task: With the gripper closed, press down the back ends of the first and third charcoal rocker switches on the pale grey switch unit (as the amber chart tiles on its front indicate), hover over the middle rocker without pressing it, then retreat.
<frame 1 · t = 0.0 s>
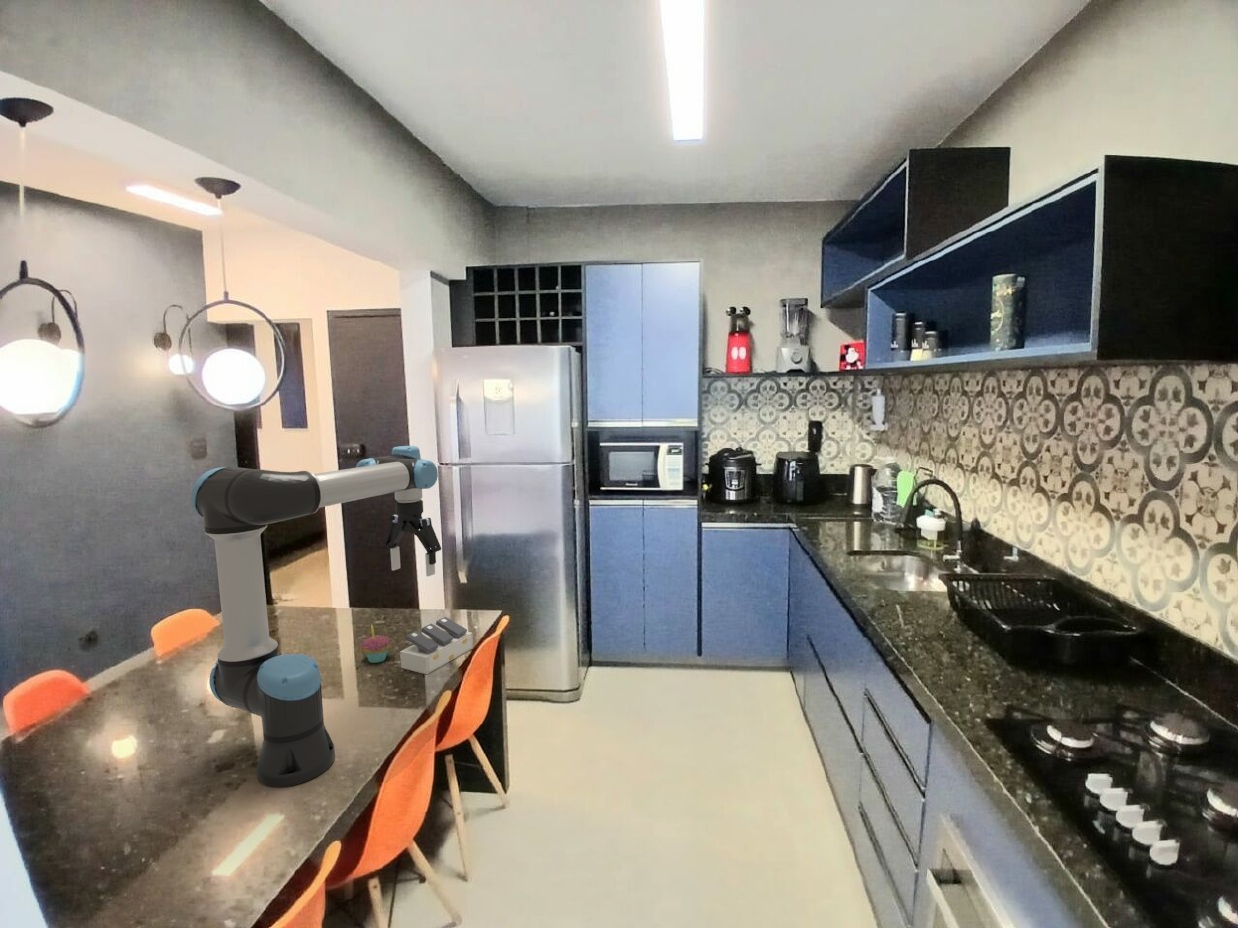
hand: (413, 572, 183), 28 cm above the table, fingers open, 13 cm apart
rocker 1: (422, 641, 184), point 7 cm above the table, hinge at 18.0°
switch unit: (438, 657, 191), on the table
rocker 2: (437, 633, 190), point 7 cm above the table, hinge at 18.0°
cupcake: (376, 660, 190), on the table
rocker 3: (451, 626, 195), point 7 cm above the table, hinge at 18.0°
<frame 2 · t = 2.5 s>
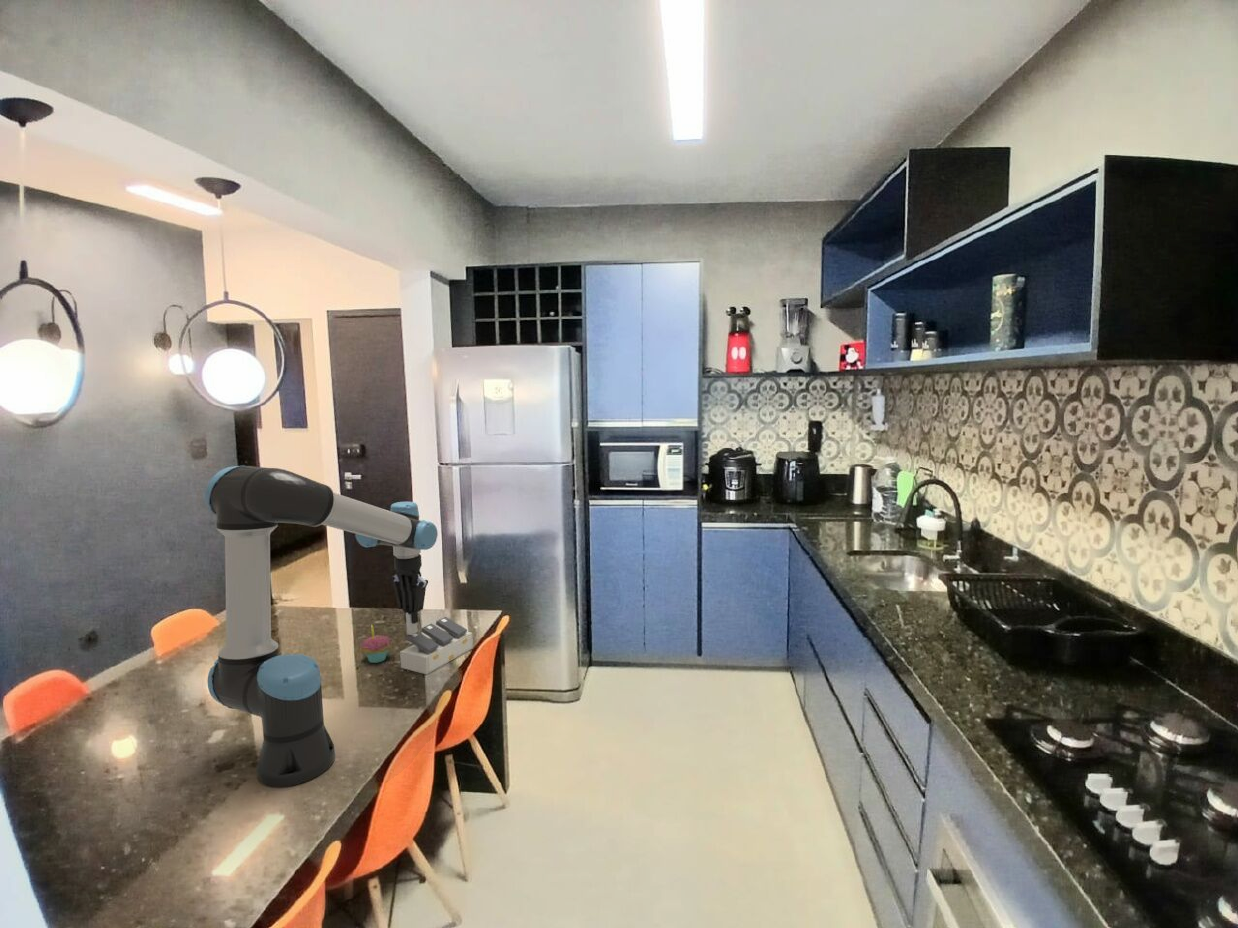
hand: (412, 632, 186), 9 cm above the table, fingers closed
rocker 1: (422, 641, 184), point 7 cm above the table, hinge at 18.0°, touching gripper
everything else where it was.
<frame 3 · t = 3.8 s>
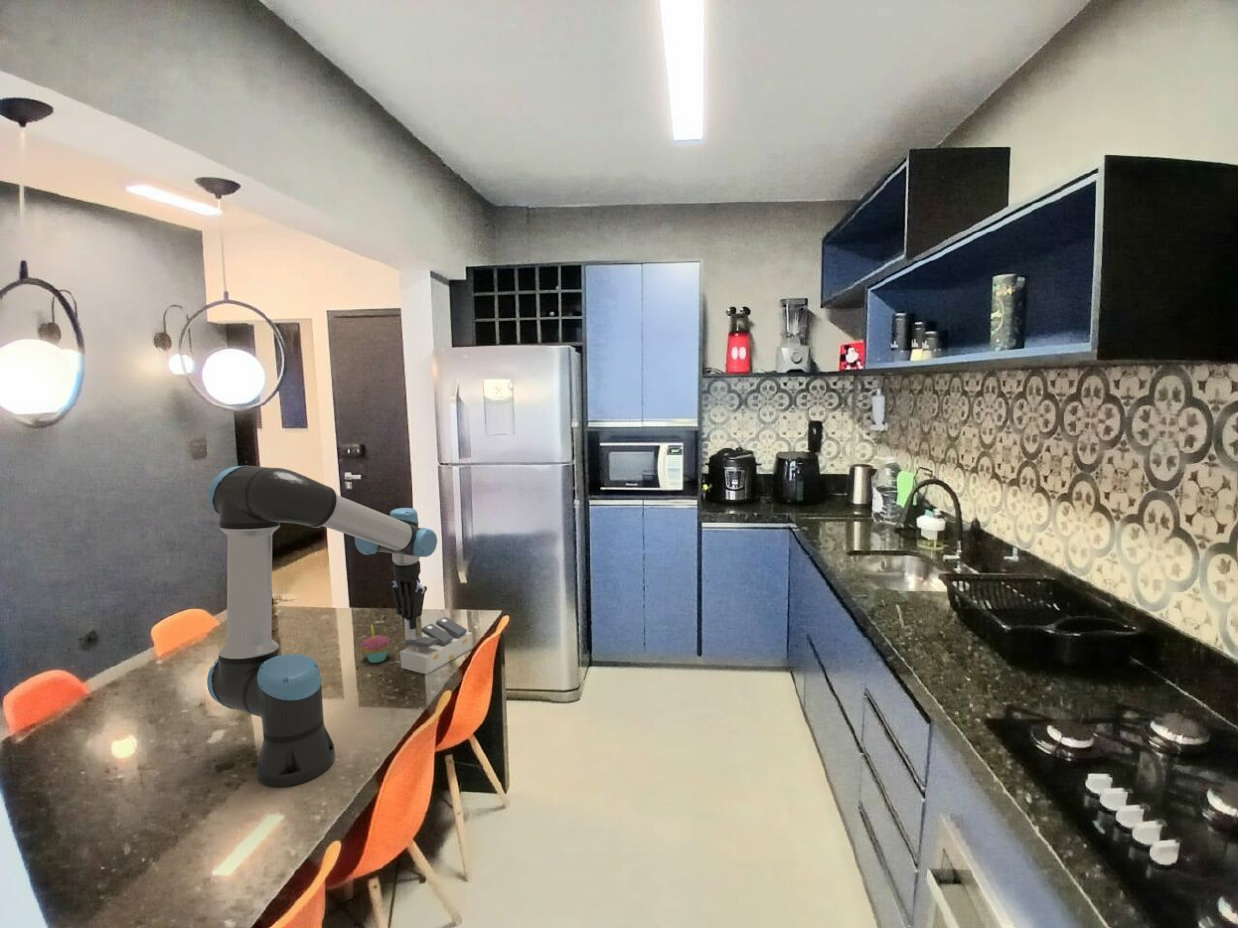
hand: (410, 638, 186), 7 cm above the table, fingers closed
rocker 1: (422, 641, 184), point 7 cm above the table, hinge at -5.7°, touching gripper
everything else where it was.
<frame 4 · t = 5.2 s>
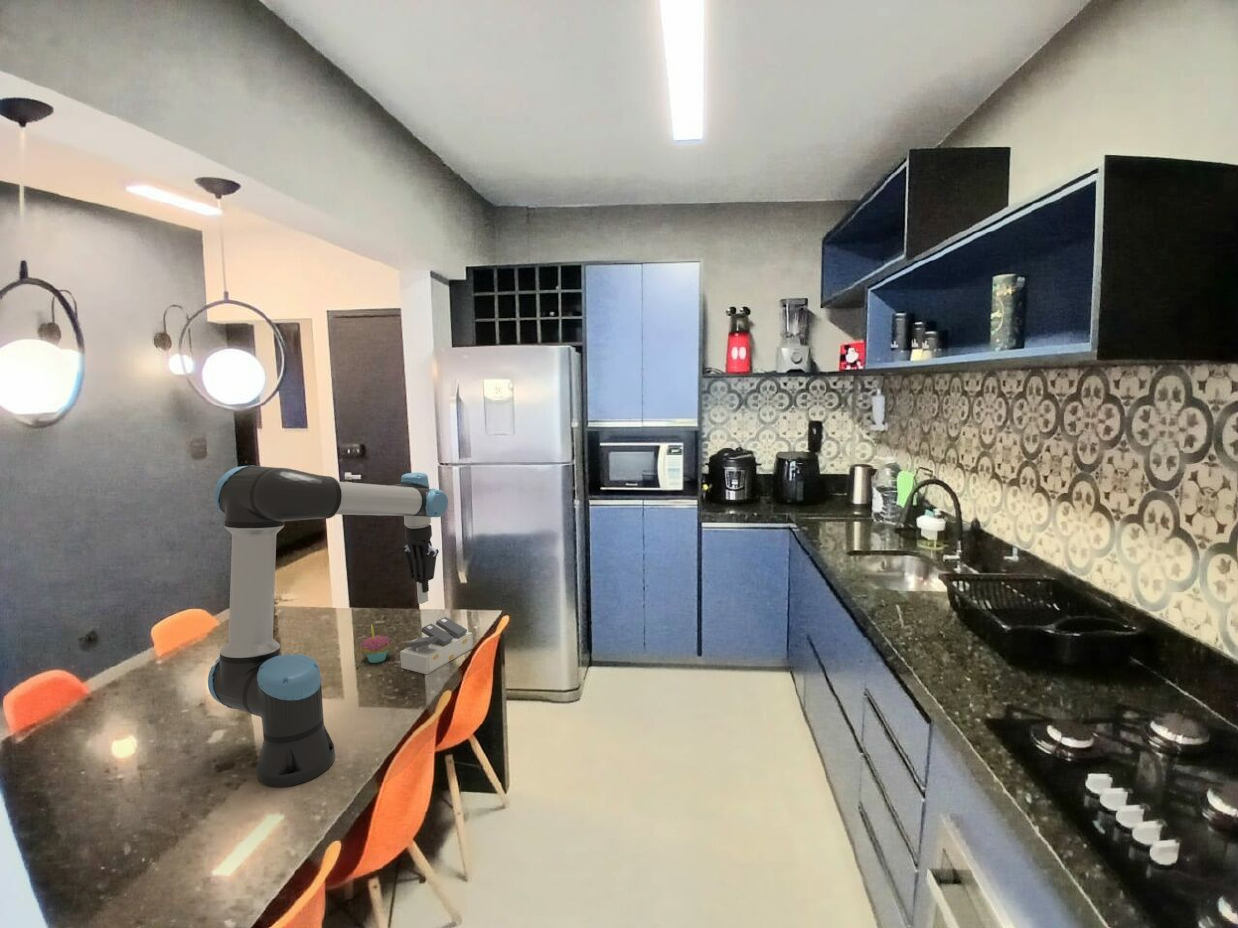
hand: (423, 601, 189), 17 cm above the table, fingers closed
rocker 1: (422, 641, 184), point 7 cm above the table, hinge at -15.1°
everything else where it was.
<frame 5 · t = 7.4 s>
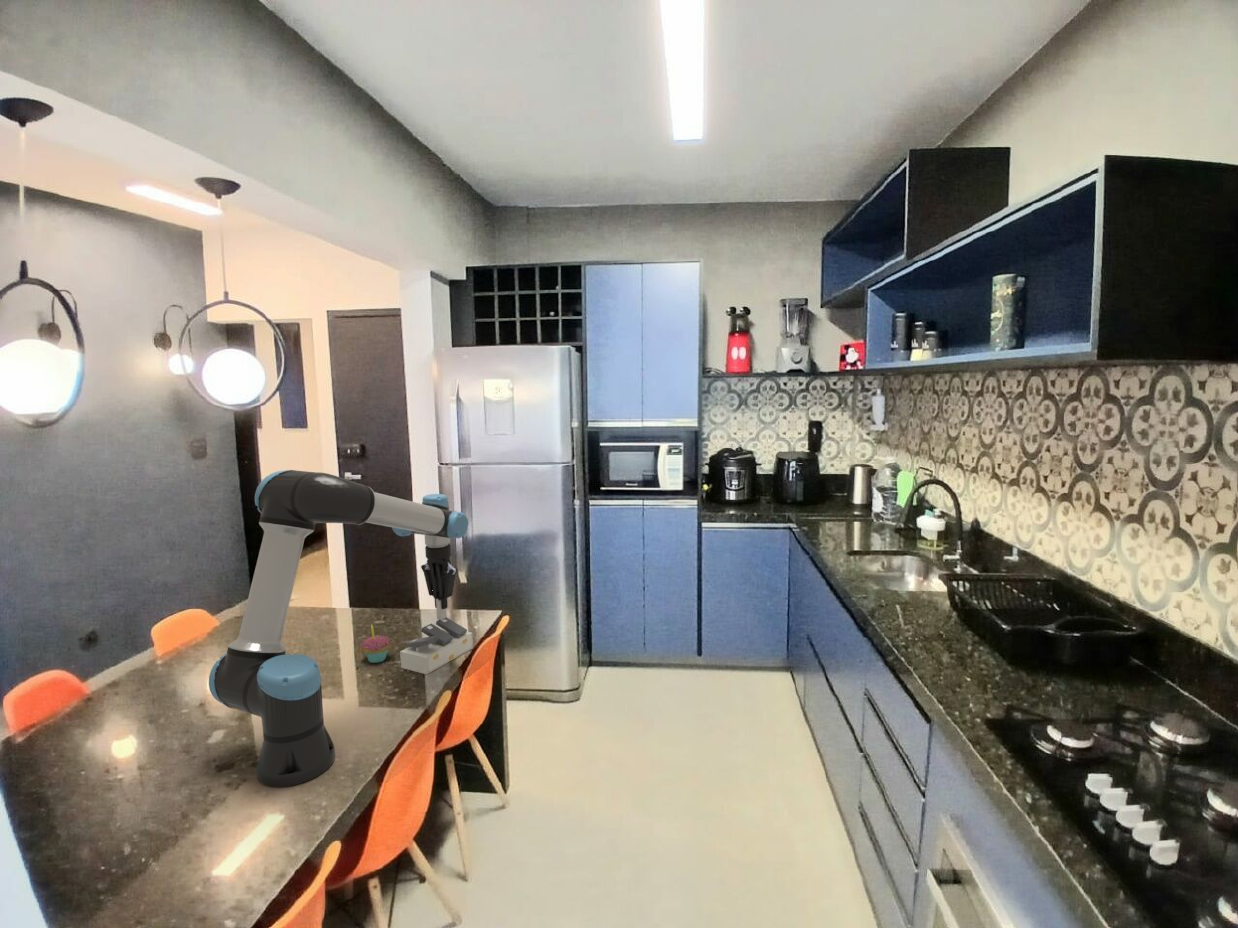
hand: (441, 618, 197), 10 cm above the table, fingers closed
rocker 1: (422, 641, 184), point 7 cm above the table, hinge at -16.2°
rocker 3: (451, 626, 195), point 7 cm above the table, hinge at 18.0°, touching gripper
everything else where it was.
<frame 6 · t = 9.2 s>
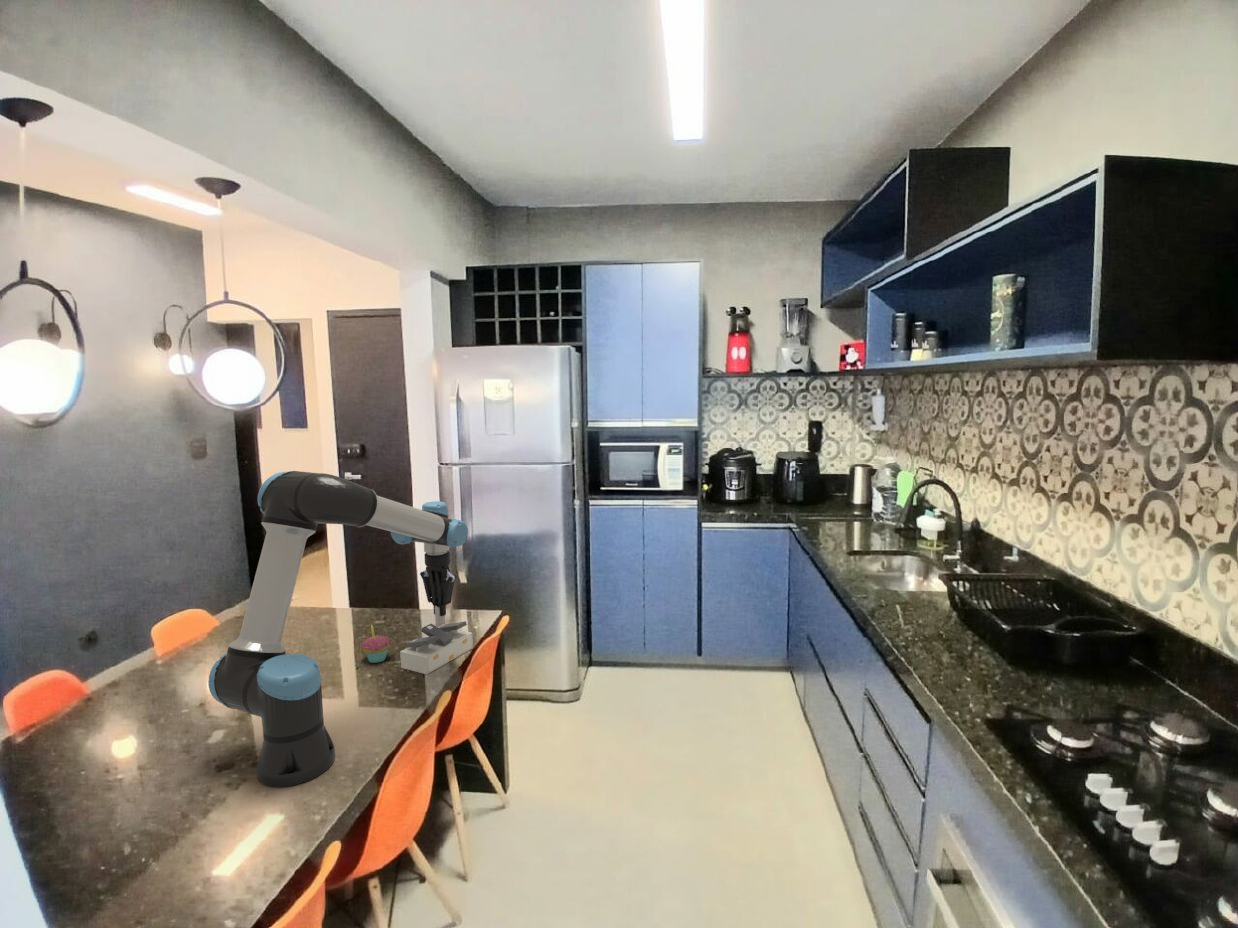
hand: (440, 624, 197), 7 cm above the table, fingers closed
rocker 3: (451, 626, 195), point 7 cm above the table, hinge at -16.7°
everything else where it was.
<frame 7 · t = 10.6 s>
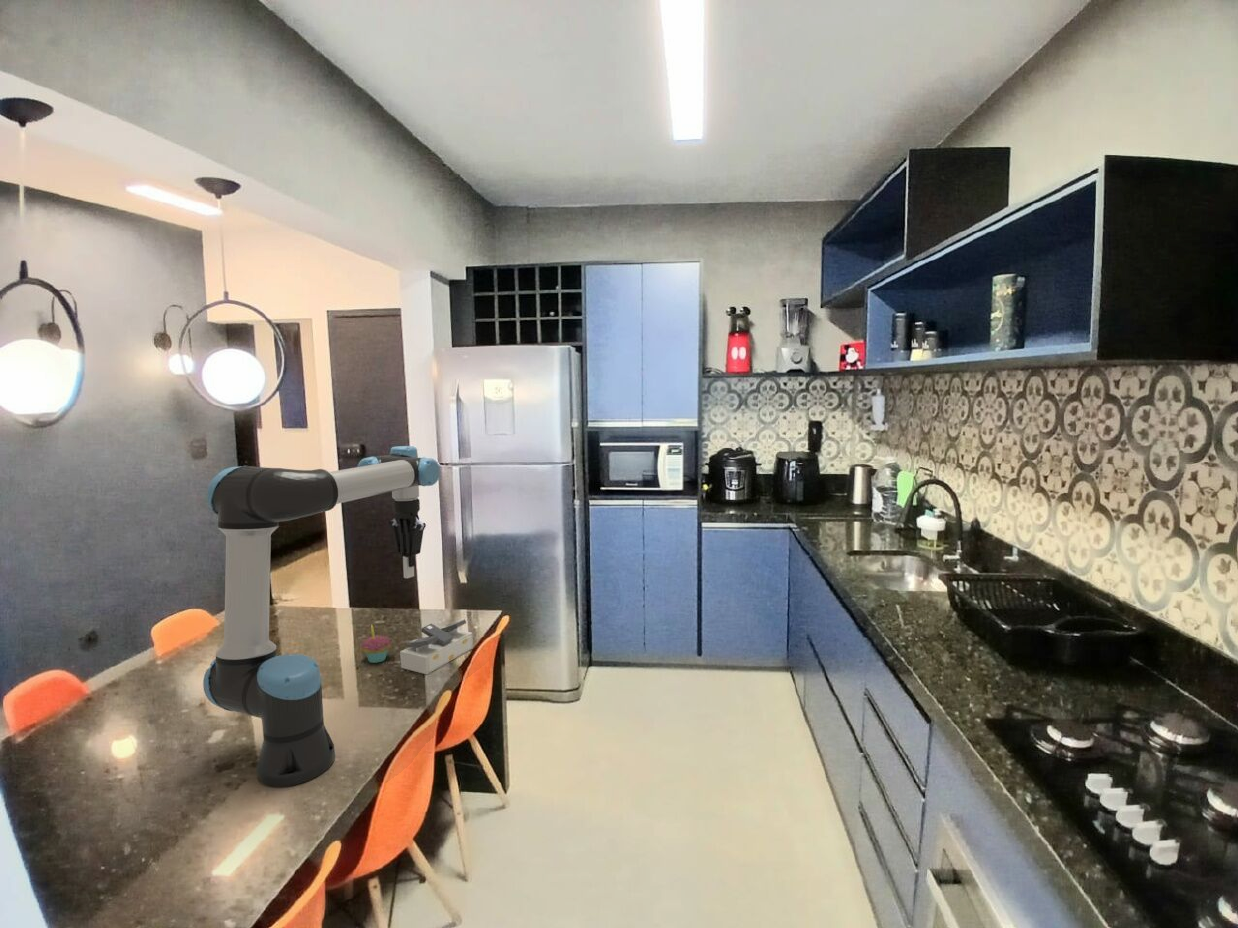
hand: (409, 576, 188), 25 cm above the table, fingers closed
rocker 3: (451, 626, 195), point 7 cm above the table, hinge at -24.3°
everything else where it was.
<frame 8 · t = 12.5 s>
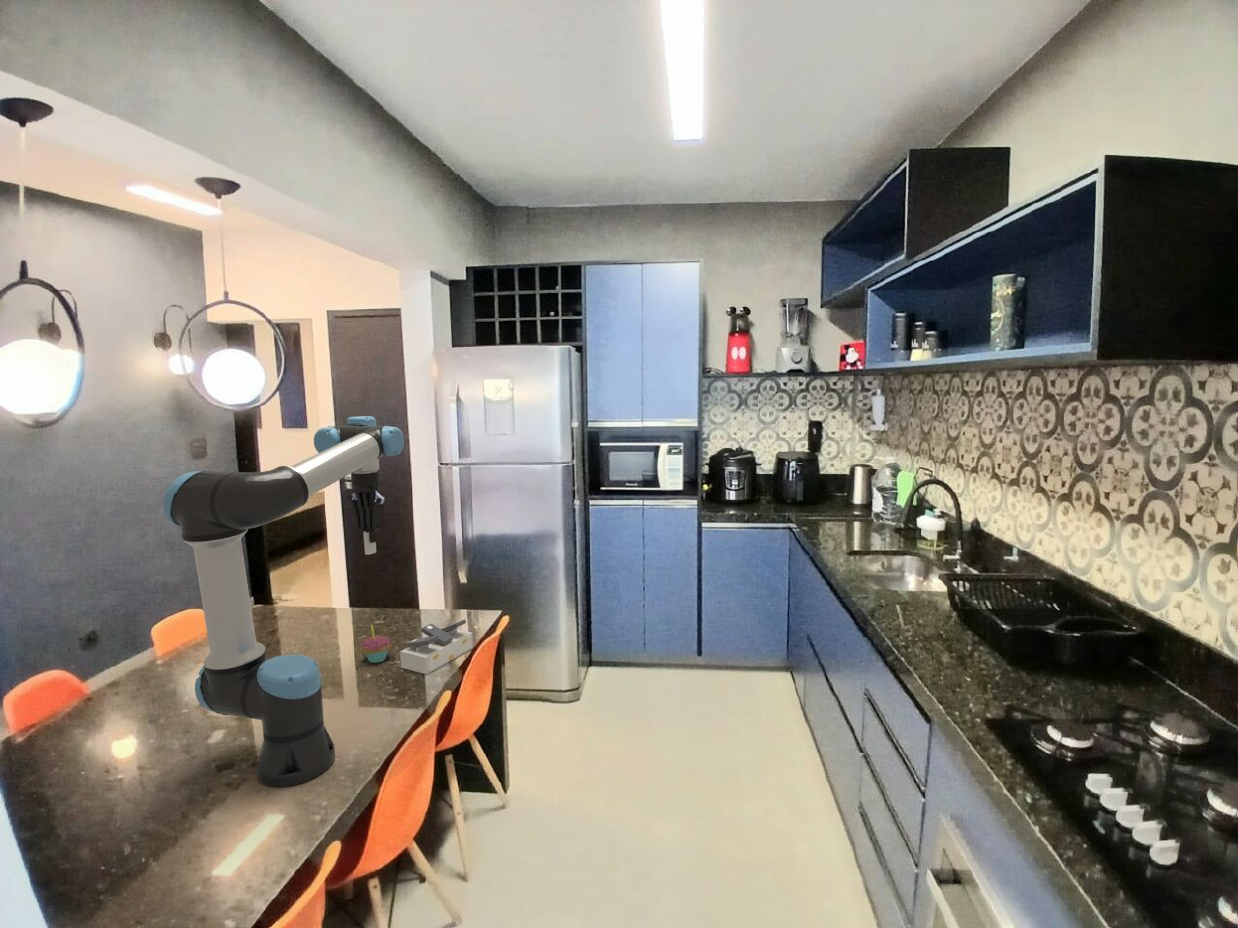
hand: (370, 553, 180), 34 cm above the table, fingers closed
rocker 3: (451, 626, 195), point 7 cm above the table, hinge at -24.9°, touching switch unit
everything else where it was.
at the end: rocker 1 at -16° (first picture: +18°); rocker 3 at -25° (first picture: +18°); rocker 2 at +18° (first picture: +18°) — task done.
